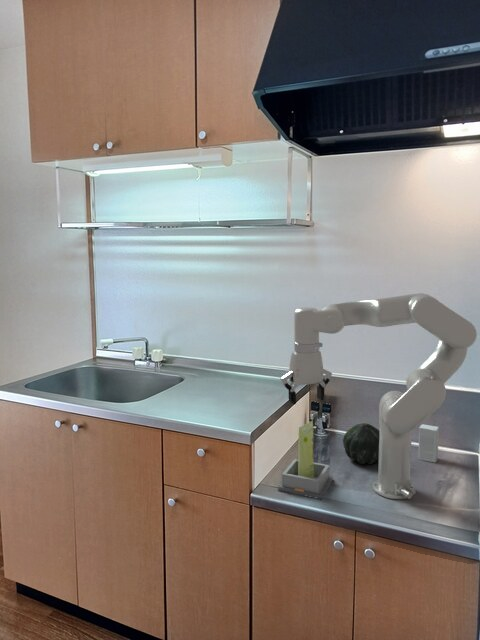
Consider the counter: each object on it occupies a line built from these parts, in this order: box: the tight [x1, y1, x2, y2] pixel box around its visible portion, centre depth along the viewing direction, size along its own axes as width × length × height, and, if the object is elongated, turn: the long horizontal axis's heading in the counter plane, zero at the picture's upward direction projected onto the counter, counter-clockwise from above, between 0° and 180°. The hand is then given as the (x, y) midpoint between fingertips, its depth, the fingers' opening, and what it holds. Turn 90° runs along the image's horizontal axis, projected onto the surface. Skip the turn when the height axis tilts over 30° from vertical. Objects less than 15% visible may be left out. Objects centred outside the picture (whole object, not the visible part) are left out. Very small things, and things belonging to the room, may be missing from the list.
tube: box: [297, 420, 315, 479], centre depth 159 cm, size 6×5×20 cm
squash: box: [342, 422, 380, 465], centre depth 177 cm, size 14×15×15 cm
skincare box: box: [417, 423, 440, 463], centre depth 177 cm, size 6×4×12 cm
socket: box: [277, 458, 334, 499], centre depth 160 cm, size 14×14×5 cm
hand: (306, 401), depth 156 cm, fingers open, 9 cm apart
